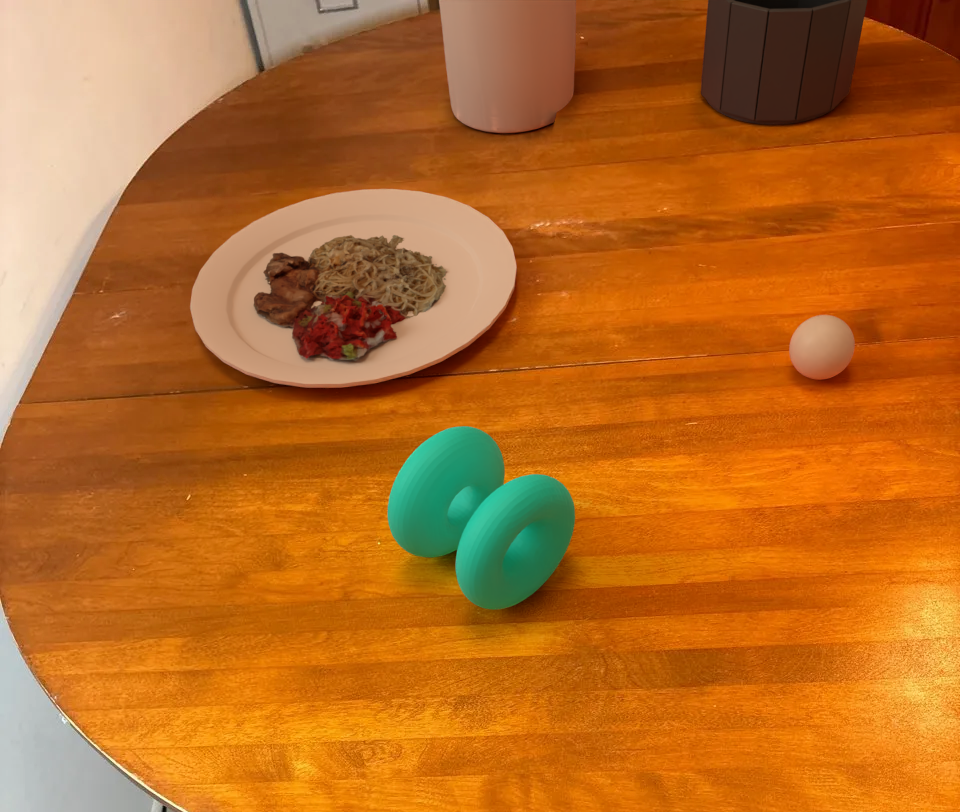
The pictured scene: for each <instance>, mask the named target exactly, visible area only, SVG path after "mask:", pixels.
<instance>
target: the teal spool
mask: <svg viewBox="0 0 960 812" xmlns="http://www.w3.org/2000/svg"><path fill="white" fill-rule="evenodd" d="M505 475H506V467H505V461H504V456H503V453H502V451H501V449H500V447H499V445H498V443H497V442H496V440H494V438H493V437H492V436H491V435H490V434H488V433H487V432H486V431H483V430H482V429H480V428H477V427H473V426H467V425H461V426H453V427H448V428H446V429H444V430H441V431H439V432H437V433H435V434H433V435H432V436H430V437H428V438H427V439H426V440H424V441H423V442H422V443H421V444H420V445H418V446H417V447H416V448H415V449H414V451H413V452H412V453H411V454H410V455H409V456H408V458H407V459H406V460H405V462H403V465H402V466H401V468H400V469H399V471H398V472H397V475H396V477H395V478H394V481H393V483H392V485H391V486H392V487H391V489H390V493H389V496H388V503H387V523H388V527H389V529H390V534H391V536H392V538H393V539H394V540H395V542H396V543H397V544H398V546H399V547H400V548H402V550H404V551H405V552H406V553H408V554H411V555H413V556H416V557H420V558H428V559H431V558H439V557H443V556H447V555H450V554H452V553H453V552H456V556H455V564H454V565H455V576H456V580H457V584H458V587H459V588H460V591H461V592H462V594H463V595H464V596H465V598H466V599H467V600H468V601H470V602H471V603H472V604H473V605H475V606H476V607H479V608H481V609H484V610H493V611H494V610H496V611H497V610H504V609H507V608H511V607H513V606H516V605H517V604H520V603H522V602H523V601H525V600H527V599H528V598H530V597H531V596H532V595H534V594H535V593H536V592H537V591H538V590H539V589H540V588H541V587H542V586H544V584H545V583H546V582H547V581H548V580H549V578H550V577H551V576H552V575H553V574H554V573H555V571H556V569H557V568H558V566H559V565H560V564H561V561H562V560H563V559H564V556H565V554H566V553H567V551H568V548H569V546H570V544H571V540H572V538H573V534H574V529H575V525H576V509H575V502H574V499H573V497H572V495H571V492H570V491H569V489H568V488H567V487H566V486H565V485H564V483H562V482H561V481H560V480H558V479H556V478H555V477H553V476H550V475H547V474H539V473H533V474H532V473H531V474H526V475H522V476H517V477H515V478H513V479H511V480H509V481H507V482H506V483H505Z"/></svg>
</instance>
